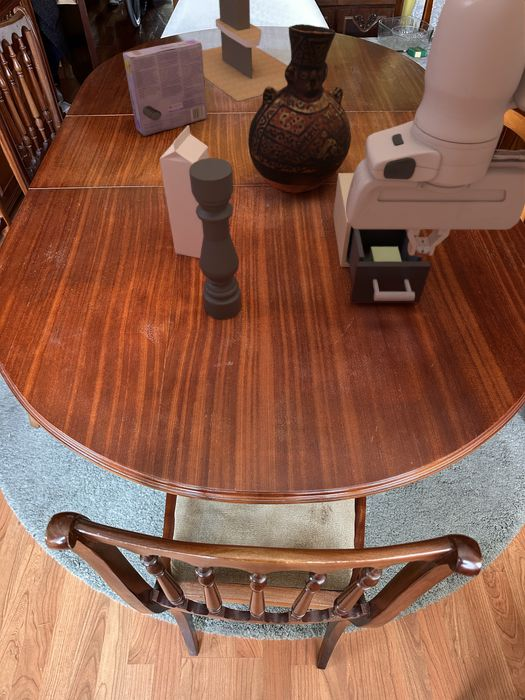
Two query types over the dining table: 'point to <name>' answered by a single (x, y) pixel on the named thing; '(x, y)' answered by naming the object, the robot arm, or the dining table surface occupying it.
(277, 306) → the dining table surface
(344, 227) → the drawer cabinet
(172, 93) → the cake pan box
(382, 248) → the block
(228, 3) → the architectural model
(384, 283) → the dark grey drawer
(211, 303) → the candle holder
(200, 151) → the milk
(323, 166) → the ceramic vessel
